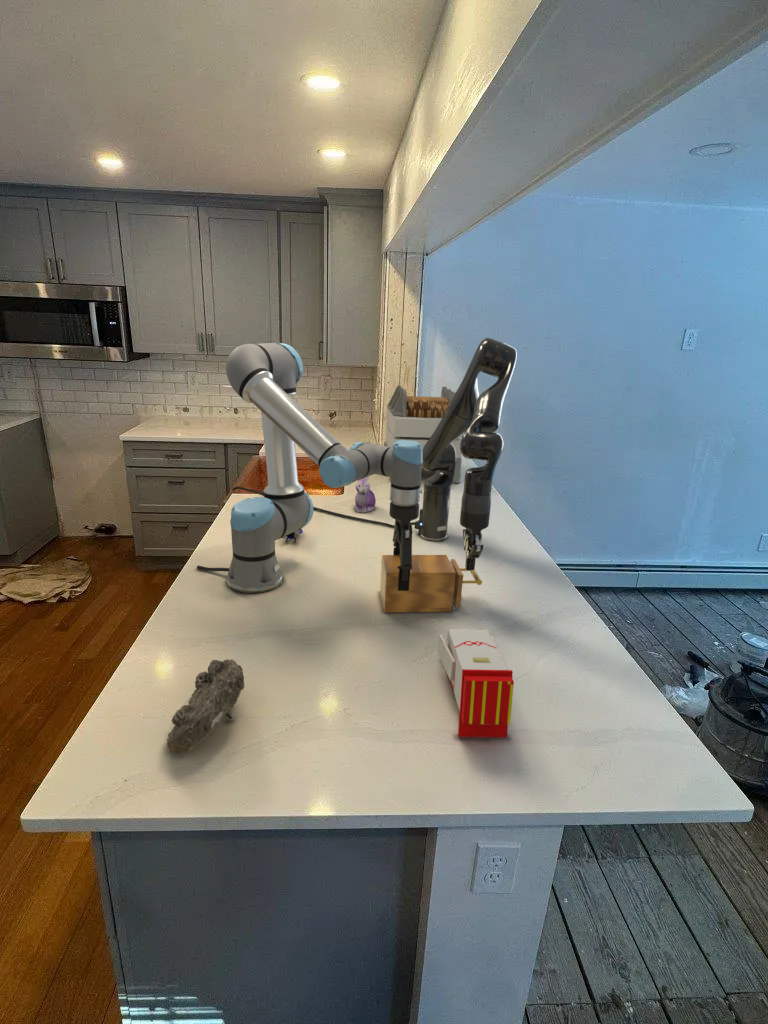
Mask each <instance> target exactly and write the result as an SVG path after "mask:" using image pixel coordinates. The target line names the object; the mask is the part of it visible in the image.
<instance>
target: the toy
mask: <svg viewBox="0 0 768 1024" xmlns="http://www.w3.org/2000/svg"><path fill="white" fill-rule="evenodd" d="M446 640H447V643H446V641H445V639H444V636H443V635H442V634H439V637H438V646H437V656H438V657H439V659H440V661H441V663H442V666H443V668H444V670H445V672H446V674H447V677H448V679H449V681H450V684H451V687H452V690H453V693H454V697H455V701H456V705H457V708H458V711H459V714H458V715H459V716H458V730H457V731H458V732H457V737H458V738H508V731H509V726H510V725H511V717H512V707H513V697H514V696H513V695H514V684H515V680H514V679H513V673H514V671H513V670H512V669H508V667H507V665H506V662H505V661H504V659H503V658H502V655H501V653H500V651H499V649H498V647H497V643H496V639H495V637H494V635H493V634H491V632H490V631H489V629H467V628H466V629H465V628H463V629H461V628H460V629H459V628H448V630H447V639H446Z"/></svg>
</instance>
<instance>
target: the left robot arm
mask: <svg viewBox="0 0 768 1024" xmlns="http://www.w3.org/2000/svg"><path fill="white" fill-rule="evenodd" d="M225 363H226V364H225V373H226V374H225V375H226V378H227V380H228V383H229V384H230V386H231V388H232V389H233V390H234V392H235V393H236V394H237V395H238V396H239V397H240V398H241V399H242V400H243V401H244V402H246V403H247V404H253V405H254V406H255V407H256V408H257V409H259V411H260V413H261V422H262V433H263V442H264V443H263V444H264V454H265V464H266V475H267V485H266V486H265V488H263V492H264V495H263V496H254V497H251V498H250V497H248V498H244V499H242V500H239V501H238V502H236V503H235V504H234V505H232V507H231V510H230V520H229V523H230V532H231V533H230V534H231V546H232V547H231V548H232V557H231V559H232V560H231V562H230V565H229V567H207V566H202V565H197V566H196V569H197V570H201V571H205V572H227V577H226V580H227V581H226V582H227V583H226V584H227V585H228V587H229V588H230V589H232V590H234V591H236V592H239V593H245V594H259V593H265V592H269V591H271V590H273V589H276V588H277V587H279V586H280V585H281V584H282V582H283V571H282V569H281V566H280V563H279V561H278V558H277V556H276V541H278V540H280V539H283V538H282V537H284V536H286V535H288V534H291V533H293V532H296V531H299V530H300V529H302V530H303V528H305V527H306V526H308V524H309V523H310V522H311V520H312V518H313V515H314V509H313V507H314V503H313V501H312V498H310V495H309V494H308V492H306V491H305V487H304V486H303V484H301V483H300V482H299V476H298V464H297V451H296V450H297V449H296V446H297V447H298V448H299V449H301V450H302V452H304V453H305V454H306V455H307V456H308V457H309V458H310V459H311V460H312V462H314V463H315V464H316V465H317V466H318V467H319V468H318V473H319V477H320V478H321V481H322V483H324V485H326V486H327V487H329V488H332V489H338V488H339V489H340V488H342V487H347V486H349V485H352V484H353V483H355V482H358V480H359V479H363V478H365V477H368V476H369V477H370V476H372V475H376V476H381V477H388V478H389V477H391V480H390V489H389V491H390V492H389V500H390V503H389V516H390V518H392V519H393V520H394V525H395V527H394V528H393V536H392V542H393V544H392V545H393V552H392V555H400V566H398V567H397V568H398V569H399V580H398V591H409V579H410V569H412V555H413V533H414V532H413V525H411V522H413V521H415V520H418V519H419V515H420V499H421V495H420V494H423V489H421V483H422V471H423V467H422V464H423V448H422V445H421V444H420V443H418V442H416V441H407V440H400V441H396V442H394V443H393V447H388V446H384V445H383V444H382V445H381V444H378V443H377V444H376V443H372V442H369V441H365V442H364V441H356V442H354V443H353V444H352V446H350V448H349V450H348V449H347V448H346V447H345V446H344V445H343V444H341V443H340V442H339V440H337V438H335V437H334V436H333V435H332V434H331V433H330V432H329V431H327V429H325V428H324V427H323V426H322V425H321V424H320V423H319V422H318V421H317V420H316V419H315V418H313V416H311V414H309V412H307V411H306V410H305V409H304V408H303V407H302V405H300V404H299V403H297V402H296V400H295V399H293V398H294V397H295V395H296V394H297V384H298V383H299V382H300V381H301V378H302V377H303V373H304V365H303V361H302V358H301V356H300V354H299V352H298V351H297V350H296V349H295V348H294V347H293V346H291V345H290V344H287V343H284V342H274V341H273V342H266V343H265V342H263V343H244V344H241V345H239V346H237V347H235V348H234V349H233V350H232V351H231V352H230V354H229V355H228V357H227V359H226V362H225ZM369 477H368V478H369Z"/></svg>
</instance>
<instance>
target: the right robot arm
mask: <svg viewBox="0 0 768 1024" xmlns="http://www.w3.org/2000/svg"><path fill="white" fill-rule="evenodd" d="M517 352H518V351H517V349H516V348H515V347H513V346H511V345H509V344H507V343H505V342H502V341H499V340H496V339H494V338H491V337H484V338H483V339H481V341H480V342H479V344H478V346H477V348H476V349H475V351H474V354H473V356H472V358H471V360H470V363H469V365H468V367H467V369H466V372H465V374H464V376H463V379H462V380H461V382H460V384H459V386H458V388H457V389H456V391H455V395H454V396H453V398H452V400H451V402H450V403H449V405H448V407H447V409H446V411H445V414H444V416H443V417H442V419H441V421H440V423H439V424H438V426H437V428H436V430H435V431H434V433H433V434H432V436H431V437H430V438H429V440H428V441H427V443H426V444H425V446H424V447H423V464H422V470H424V471H427V472H434V474H433V475H431V476H429V477H428V478H427V479H425V480H424V482H423V491H422V496H423V497H422V506H421V508H420V509H419V516H418V519H417V520H416V521H410V523H411V525H412V526H414V529H415V530H417V535H418V536H420V538H421V539H424V540H426V541H432V542H440V541H444V540H446V539H447V538H448V525H449V517H450V516H449V514H450V504H451V494H452V493H451V491H452V486H453V484H454V483H453V480H454V473H455V466H456V451H455V448H454V446H453V445H452V444H451V442H452V441H454V440H455V439H456V438H458V437H459V436H461V435H462V434H463V437H462V438H460V439H461V442H460V452H461V456H462V457H463V458H465V459H468V460H476V461H485V462H486V463H485V464H484V465H481V466H473V467H469V468H468V469H466V470H465V473H464V480H463V490H462V491H463V492H462V496H461V505H460V515H459V524H460V526H461V527H463V529H462V530H461V532H462V542H463V551H465V564H464V565H465V567H464V568H466V569H467V570H474V569H475V570H476V559H479V558H480V556H481V554H482V552H483V550H484V549H485V546H484V544H481V543H482V541H483V533H482V531H483V530H485V529H487V528H488V527H489V524H490V516H491V508H492V507H491V506H492V488H493V478H494V475H495V470H496V467H497V464H498V463H499V460H500V459H501V456H502V453H503V450H504V445H505V443H504V440H503V437H502V435H501V434H500V433H497V430H498V429H499V427H500V422H501V416H502V410H503V405H504V400H505V397H506V394H507V392H508V388H509V385H510V382H511V380H512V376H513V373H514V370H515V366H516V363H517V357H518V353H517ZM479 373H482V374H483V373H484V374H485V375H488V376H490V377H493V378H497V380H496V381H495V382H494V383H493V384H492V385H490V386H489V387H488V388H486V389H485V390H484V391H483V392H481V393H479V387H478V376H479ZM235 490H243V491H246V492H249V493H250V492H251V493H255V494H259V495H263V496H264V491H260V490H256V489H250V488H248V487H244V486H243V487H242V486H235V487H233V488H232V489H231V491H235ZM313 510H314V511H318V512H322V513H325V514H330V515H333V516H337V517H342V518H346V519H350V520H355V521H361V522H366V523H371V524H376V525H381V526H386V527H389V528H393V529H394V527H395V524H391V523H388V522H383V521H379V520H378V521H377V520H372V519H367V518H362V517H357V516H351V515H348V514H344V513H339V512H335V511H330V510H326V509H323V508H319V507H316V506H313Z"/></svg>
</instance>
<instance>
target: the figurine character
mask: <svg viewBox="0 0 768 1024" xmlns="http://www.w3.org/2000/svg"><path fill="white" fill-rule="evenodd" d="M303 532H304V531H303V528H302V529H300V530H299V531H296V532H293V533H291V534H288V535H286V536H284V537H282V538H281V539H284V542H285V543H288V541H289V540H293V543H294V544H296V543H297V539H298V540H299V538H300V536H301V534H302V533H303Z"/></svg>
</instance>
